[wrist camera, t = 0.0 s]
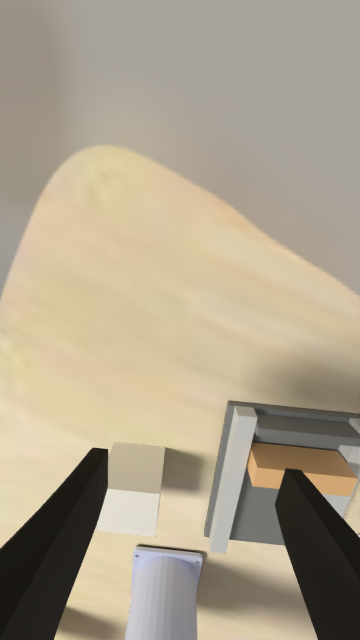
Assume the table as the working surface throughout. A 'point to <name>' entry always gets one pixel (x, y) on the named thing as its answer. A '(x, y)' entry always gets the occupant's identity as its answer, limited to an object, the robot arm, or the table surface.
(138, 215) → the table surface
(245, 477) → the rail mount
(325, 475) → the block
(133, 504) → the block
